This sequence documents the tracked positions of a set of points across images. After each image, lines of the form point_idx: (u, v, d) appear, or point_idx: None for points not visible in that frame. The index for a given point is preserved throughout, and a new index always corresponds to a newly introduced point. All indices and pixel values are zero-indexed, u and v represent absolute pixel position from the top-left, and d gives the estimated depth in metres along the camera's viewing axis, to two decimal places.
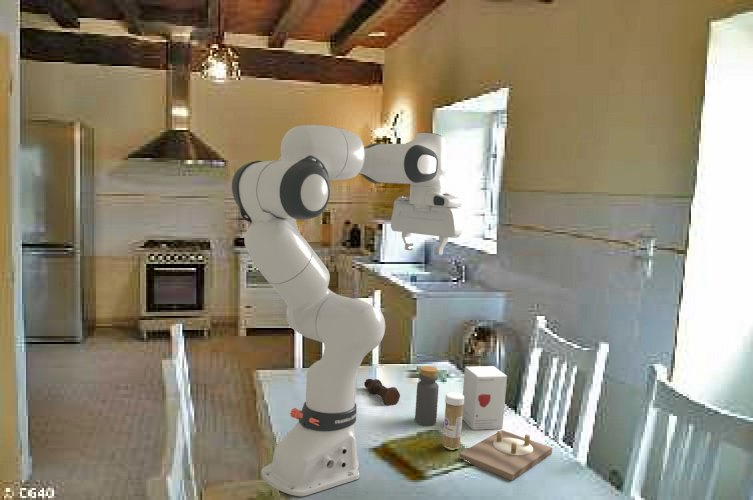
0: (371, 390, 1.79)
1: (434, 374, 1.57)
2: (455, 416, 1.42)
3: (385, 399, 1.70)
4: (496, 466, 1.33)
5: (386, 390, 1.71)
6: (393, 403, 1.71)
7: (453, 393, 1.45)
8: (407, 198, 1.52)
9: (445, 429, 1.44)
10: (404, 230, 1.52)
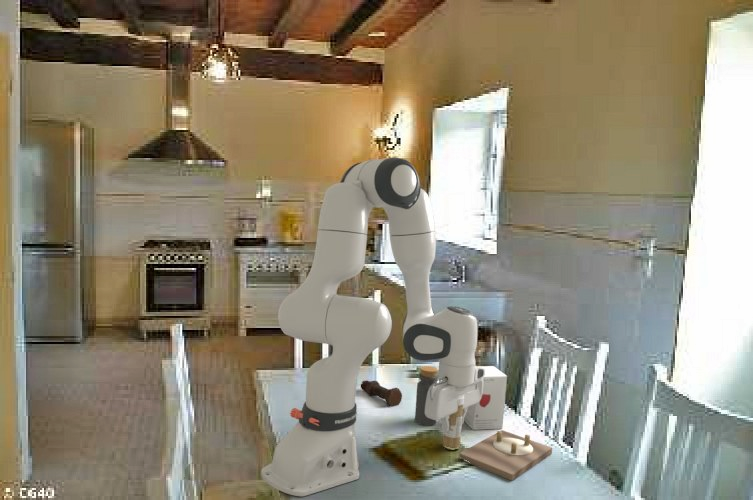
0: (370, 392, 1.77)
1: (434, 374, 1.57)
2: (455, 416, 1.42)
3: (389, 400, 1.69)
4: (496, 466, 1.33)
5: (389, 391, 1.70)
6: (396, 404, 1.71)
7: None
8: (444, 380, 1.39)
9: None
10: (447, 414, 1.39)
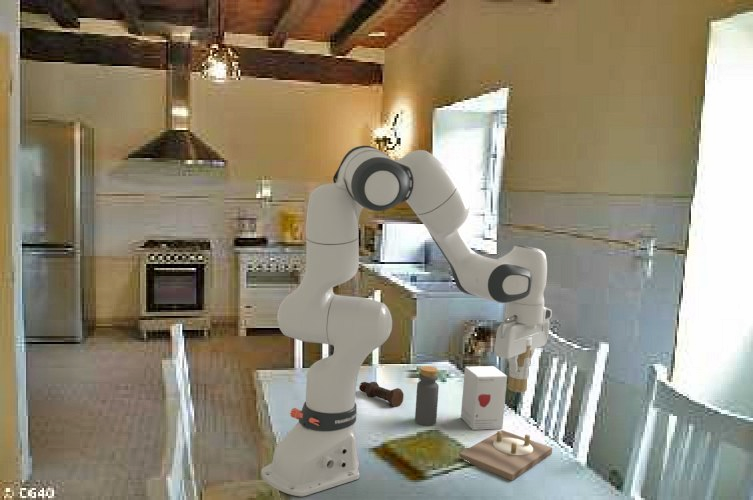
0: (370, 393, 1.76)
1: (434, 374, 1.57)
2: (523, 357, 1.39)
3: (392, 401, 1.69)
4: (496, 466, 1.33)
5: (392, 392, 1.69)
6: (398, 404, 1.71)
7: None
8: (513, 318, 1.35)
9: None
10: (517, 354, 1.36)
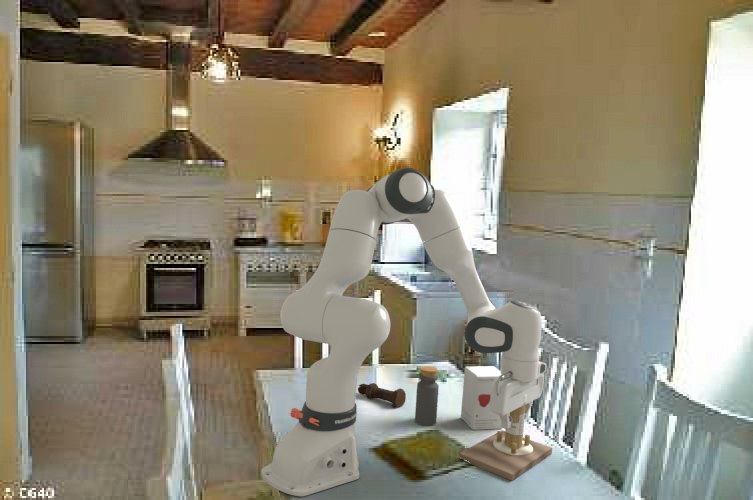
0: (371, 395, 1.74)
1: (434, 374, 1.57)
2: (519, 414, 1.42)
3: (396, 402, 1.68)
4: (496, 466, 1.33)
5: (396, 393, 1.69)
6: (401, 404, 1.71)
7: None
8: (509, 375, 1.37)
9: None
10: (512, 409, 1.38)
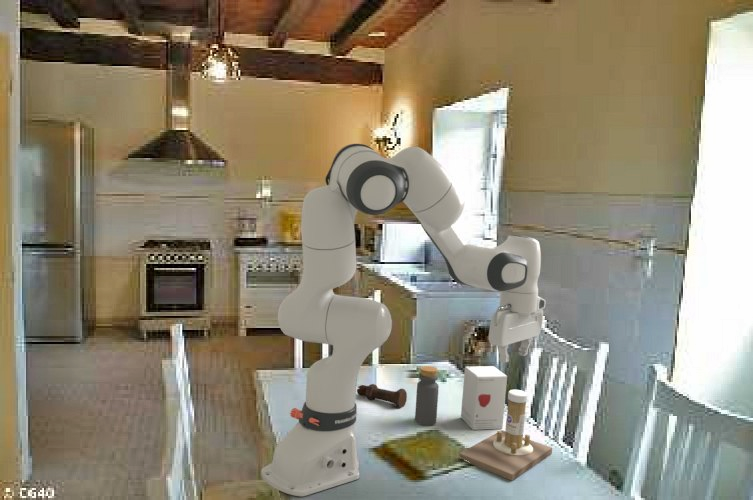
0: (371, 396, 1.73)
1: (434, 374, 1.57)
2: (519, 414, 1.42)
3: (399, 402, 1.68)
4: (496, 466, 1.33)
5: (398, 393, 1.69)
6: (403, 404, 1.71)
7: (516, 390, 1.44)
8: (508, 306, 1.36)
9: (508, 426, 1.43)
10: (511, 342, 1.37)
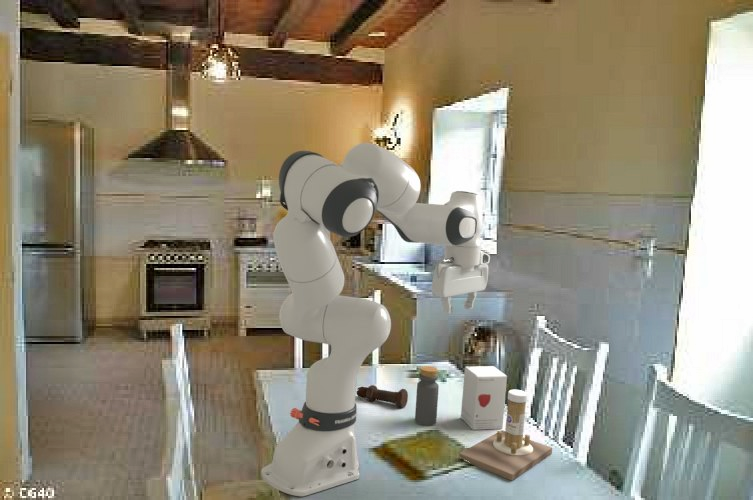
0: (372, 397, 1.72)
1: (434, 374, 1.57)
2: (519, 413, 1.42)
3: (401, 402, 1.68)
4: (496, 466, 1.33)
5: (400, 393, 1.69)
6: (405, 405, 1.71)
7: (515, 390, 1.44)
8: (450, 259, 1.42)
9: (508, 426, 1.43)
10: (454, 294, 1.43)
